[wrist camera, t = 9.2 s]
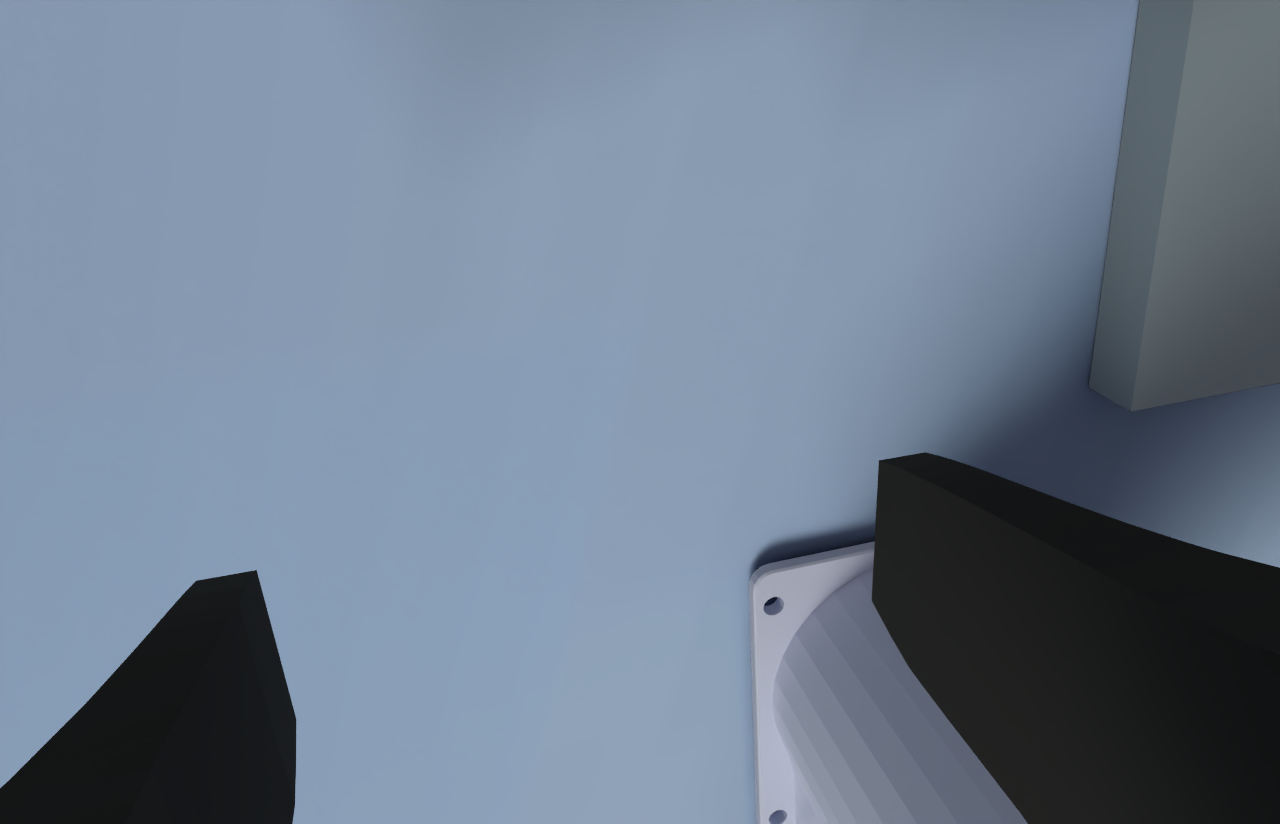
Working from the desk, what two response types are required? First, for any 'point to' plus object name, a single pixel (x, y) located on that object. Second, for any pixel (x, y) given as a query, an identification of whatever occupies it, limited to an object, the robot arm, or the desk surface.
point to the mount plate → (1195, 209)
